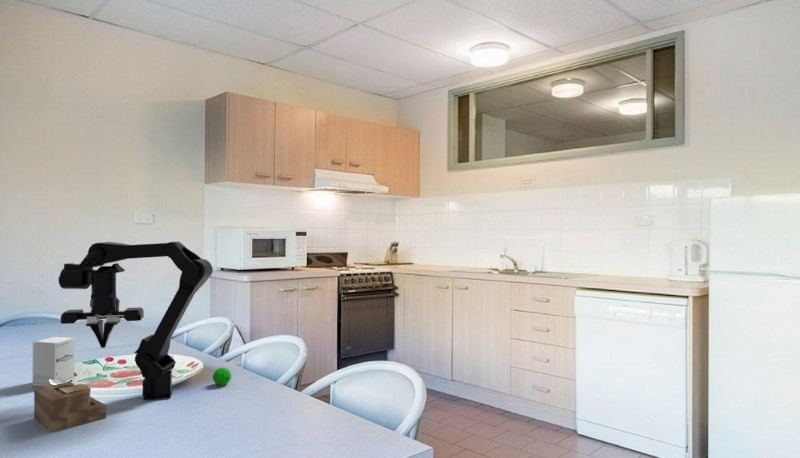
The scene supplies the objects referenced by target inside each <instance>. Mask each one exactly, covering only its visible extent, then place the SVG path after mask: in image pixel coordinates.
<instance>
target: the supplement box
mask: <svg viewBox="0 0 800 458" xmlns="http://www.w3.org/2000/svg"><path fill="white" fill-rule="evenodd" d="M49 379H52V380H58V381H62V380H70V379H74V380H75V337H67V336H66V337H64V336H53V337H49V338H44V339H39V340H37V341H33V342H32V386H34V387H39V388H42V387H47V386H52V384H50V382H49Z"/></svg>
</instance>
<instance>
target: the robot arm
mask: <svg viewBox="0 0 800 458" xmlns="http://www.w3.org/2000/svg"><path fill="white" fill-rule="evenodd" d="M161 257H163V258H165V257H168V258H169V259H170V260H171V261H172V263H173V264H174V265H175V267H176V268H177V269H178V270H180V271H181V273H180V277H179V283H178V284H179V285H178V289H177V291H176V292H175V294H174V296H173V298H172V300H171V301H170V304H169V305H168V308H167V309H166V311H165V313H164V315H163V316H162V319H161V320H160V322H159V324H158V326H157V328H156V329H155V332H154V333H153V334H150V335H148V336H146V337H144V338H142V339H141V340H140V342H139V346H138V348H137V349H136V351H134V352H133V353H134V354H135V356H134V362H135V364H136V366H137V367H138V368H139V370H140V373H141V376H142V378H143V380H142V397H143V401H151V400H152V401H153V400H166V399H171V397H172V394H173V391H174V389H172V387H173V384H172V383H173V382H172V381H173V371H172V370H173V369H174V368H175V365H176V364H177V363H176V362H177V361H176V360H175V359H174V358H173V357H172V356H170V354H169V350H170V346H171V339H172V337H173V335H174V333H175V332H176V329H177V327H178V325H179V323H180V321H181V320H182V318H183V316H184V315H185V312H186V310H187V309H188V307H189V305H190V304H191V302H192V300H193V298H194V296H195V294H196V293H197V292H198V291H199V290H200V289H201V288H202V287H203V286H204V284H205V283H206V282H207V281H208V280H209V278H210V277H211V276H212V274H213V272H214V271H213V270H214V268H213V265H212V264H211V262H210V261H209V260H208V259H206V258H201V257H200V256H199V255H198V254H197V253H196V252H194V251H192V250H190V249H188V248H187V247H186V245H184V244H183V243H182V242H180V241H170V242H161V243H140V244H127V243H122V242H112V241H105V242H104V241H103V242H95V243H92V244H91V246H89V249H88V251H87V254H86V256H85V257H84V258H83V259H82V261H81V262H80V263H74V262H73V263H72V262H70V263H69V262H68V263H67V262H66V263H64V264H63V268H62V270H61V271H60V273H59V276H58V285H59V287H60V288H61V289H64V290H87V289H88V288H89V287H91V290H90V291H91V294H90V300H89V301H90V302H89V307H90V309H91V310H90V311H89V312H86V311H84V310H83V309H68V310H66V311H64V312H62V314H61V315H60V324H63V325H65V324H67V325H68V324H69V325H70V324H75V323H76V322H77V321H79V320H86V323H85V326H86V327H90V329H91V330H92V332H93V333H94V335H95V337H96V339H97V342H98V344H99V345H100V348H101V349H104V348H106V347H107V343H108V341H109V338H110V335H111V333H112V331H113V329H114V327H115V326H116V325H118V324H119V323H120V322H121V320H122V319H124V320H125V321H127V322H138V321H142V320H143V318H144V317H145V315H144V314H145V313H144V308H143V307H127V308H126V309H124V310H120V301H121V300H120V299H119V298H118V297H117V274H119V273H122V272H123V273H124V272H125V270H126V269H124V268H123V267H122V266H121V265H120V264H119V263H117V262H121V261H124V260H128V259H129V260H130V259H141V258H142V259H143V258H144V259H145V258H147V259H149V258H161ZM112 263H113V264H112ZM106 264H111V266H110V265H106ZM97 267H98V268H97ZM94 268H97V269H94ZM105 319H106V322H105V323H104V320H105Z"/></svg>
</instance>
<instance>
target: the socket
mask: <svg viewBox="0 0 800 458" xmlns="http://www.w3.org/2000/svg"><path fill="white" fill-rule="evenodd" d="M72 385H75V384H74V383H73V382H72V381H70V382H67V383H62V384H57V385H52V386H47V387H38V388H34V389H33V390H34V393H33V394H34V395H33V399H34V400H33V409H34V411H33V414H34V415H33V419H34V420H36V421H37V422H38V423H40V425H42V426H43V427H44V428H46V429H48V430H49V431H50V432H52V433H54V432H57V431H62V430H64V429H65V430H66V429H69V428H72V427H73V428H74V427H76V426H80V425H84V424H88V423H91V422H92V423H93V422H96V421H99V420H103V419H106V418H107V405H106V404H104V403H103V402H101V401H99V400H97V399H95V398H93V397H92V396H90V406H89V392H88V391H86V390H83V391H78V392H74V393H69V394H65V395H63V394H61V393H59V388H63V387H68V386H72Z"/></svg>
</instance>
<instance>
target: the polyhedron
mask: <svg viewBox="0 0 800 458" xmlns="http://www.w3.org/2000/svg"><path fill="white" fill-rule="evenodd" d="M212 379H213V380H212V381H213V382H214V383H215V385H217V386H222V387H223V386H225V385H227V384H228V383H229V382H230V381H231V379H232V373H231V372H230V369H229V368H226V367H219V368H217V369H216V370H214V372H213V374H212Z"/></svg>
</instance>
